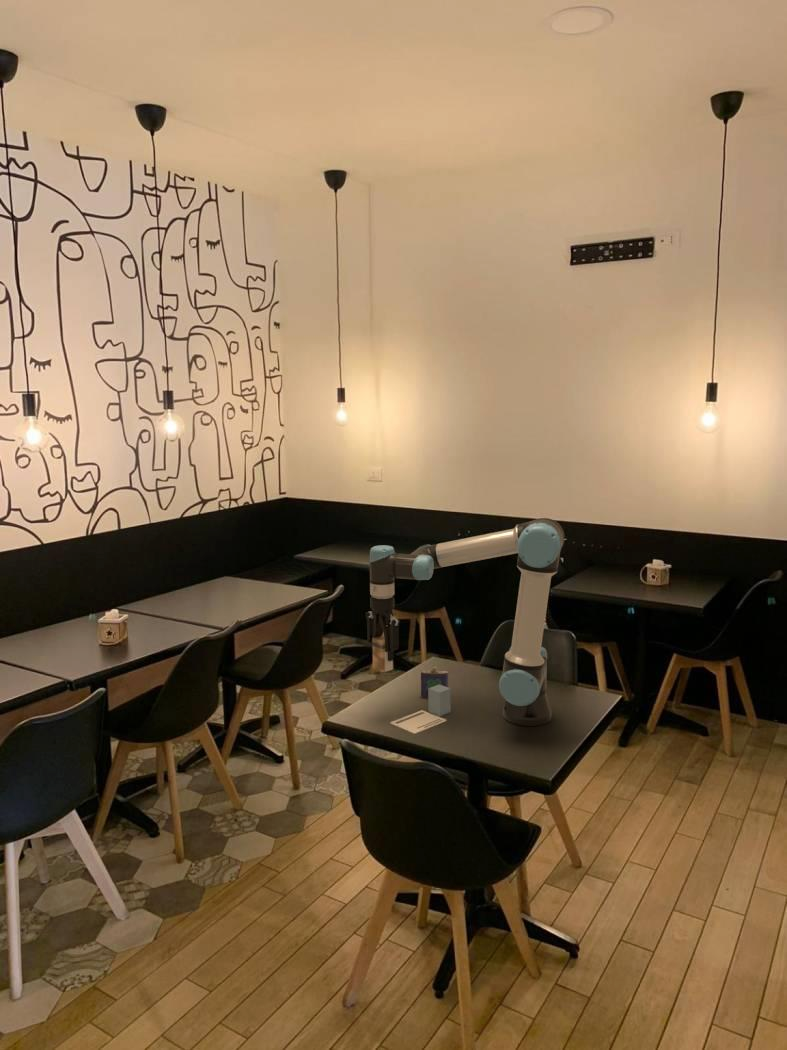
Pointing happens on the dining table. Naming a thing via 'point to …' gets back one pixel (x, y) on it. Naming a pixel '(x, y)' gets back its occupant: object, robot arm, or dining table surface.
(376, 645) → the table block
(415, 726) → the menu card
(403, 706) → the dining table surface
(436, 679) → the flask
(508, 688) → the robot arm
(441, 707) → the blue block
